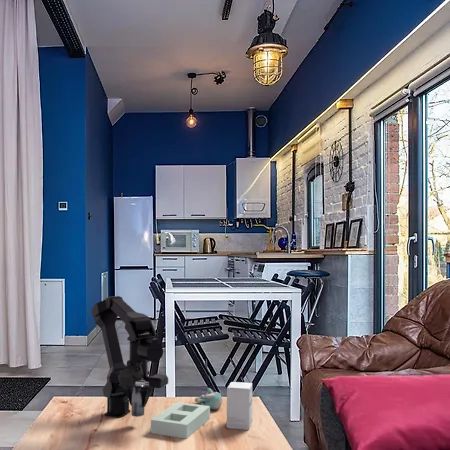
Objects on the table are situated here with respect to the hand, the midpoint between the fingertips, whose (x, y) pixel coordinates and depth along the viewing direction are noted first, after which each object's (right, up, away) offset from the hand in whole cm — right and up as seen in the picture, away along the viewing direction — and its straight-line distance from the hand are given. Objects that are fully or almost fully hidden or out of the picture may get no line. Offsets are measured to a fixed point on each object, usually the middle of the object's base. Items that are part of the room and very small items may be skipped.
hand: (138, 406), depth 152 cm
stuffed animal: (+22, -7, +18) cm, 29 cm away
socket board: (+14, -6, 0) cm, 15 cm away
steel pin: (0, -3, 0) cm, 3 cm away
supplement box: (+32, -6, 0) cm, 33 cm away
